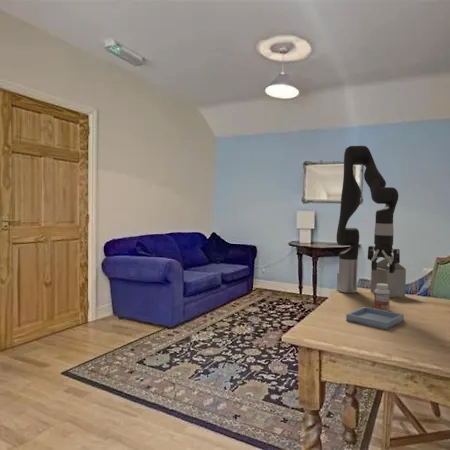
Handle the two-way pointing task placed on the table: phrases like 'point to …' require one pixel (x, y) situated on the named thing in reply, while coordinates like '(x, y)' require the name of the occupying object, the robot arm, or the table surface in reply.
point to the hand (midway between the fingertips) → (382, 271)
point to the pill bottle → (381, 297)
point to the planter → (389, 278)
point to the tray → (375, 317)
